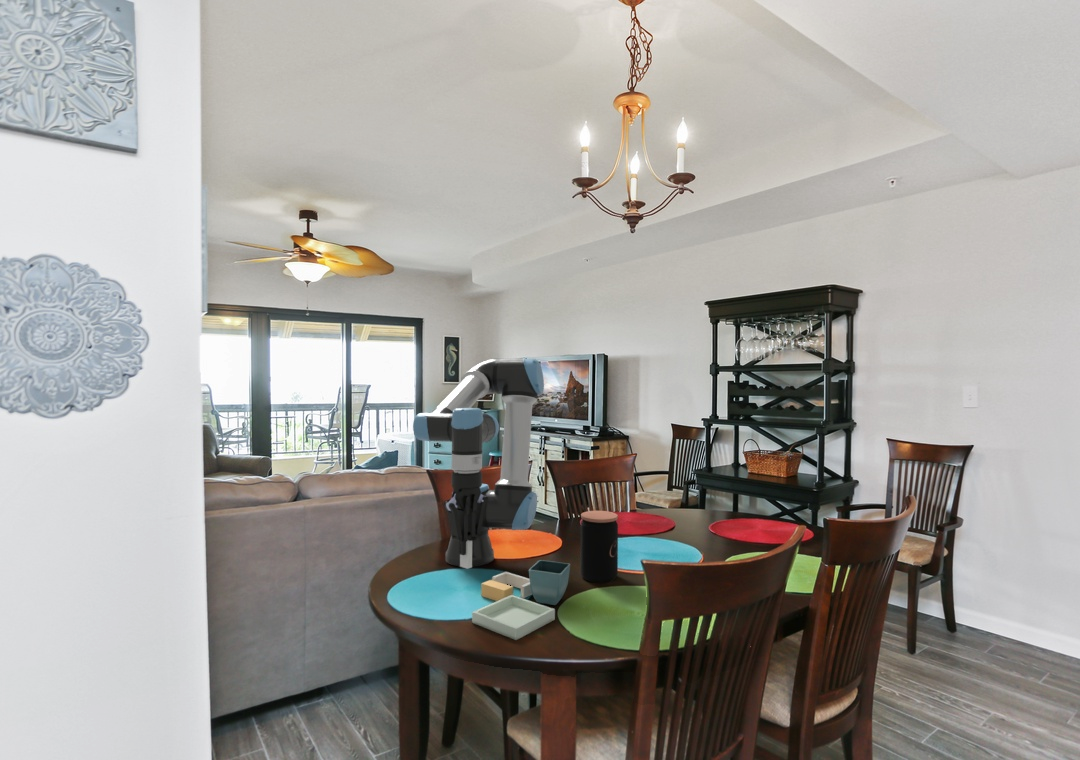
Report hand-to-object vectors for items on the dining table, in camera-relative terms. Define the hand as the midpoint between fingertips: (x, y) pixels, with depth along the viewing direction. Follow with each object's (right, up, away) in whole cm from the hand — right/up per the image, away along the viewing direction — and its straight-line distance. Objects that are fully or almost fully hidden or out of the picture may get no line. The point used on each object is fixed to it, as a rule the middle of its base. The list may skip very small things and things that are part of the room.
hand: (465, 566), depth 140 cm
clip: (+11, -11, +14) cm, 21 cm away
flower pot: (+21, -11, +7) cm, 25 cm away
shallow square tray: (+12, -11, -5) cm, 17 cm away
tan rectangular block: (+7, -11, +9) cm, 16 cm away
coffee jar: (+35, -11, +25) cm, 44 cm away
